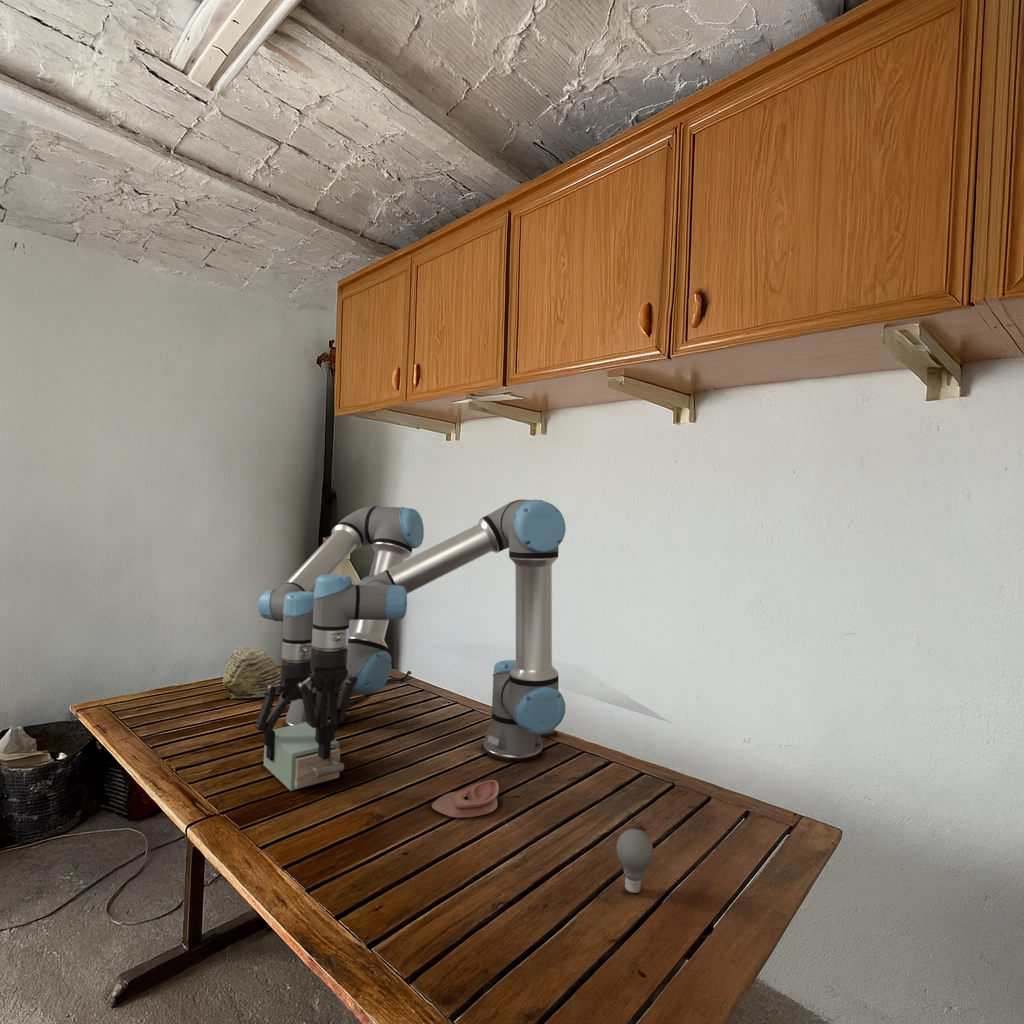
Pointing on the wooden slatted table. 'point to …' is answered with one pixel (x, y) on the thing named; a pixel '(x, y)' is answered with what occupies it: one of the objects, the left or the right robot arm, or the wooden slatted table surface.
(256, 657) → the fossil
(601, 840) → the wooden slatted table surface
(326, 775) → the drawer
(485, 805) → the anatomical model
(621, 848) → the light bulb
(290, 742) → the cabinet
